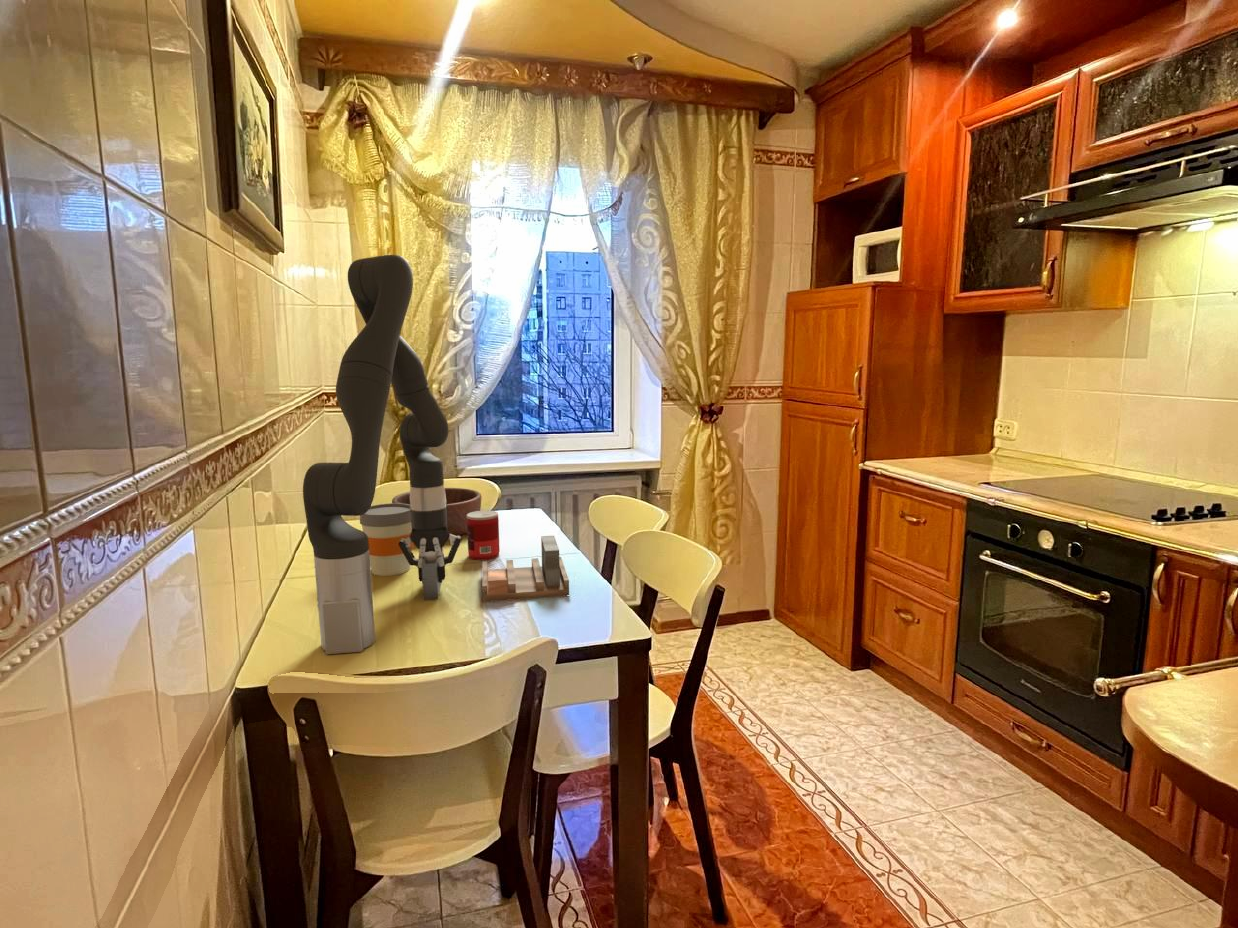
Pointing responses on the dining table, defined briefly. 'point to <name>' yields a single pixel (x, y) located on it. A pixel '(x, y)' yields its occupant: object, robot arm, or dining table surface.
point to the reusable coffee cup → (387, 537)
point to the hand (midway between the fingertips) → (432, 581)
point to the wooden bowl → (453, 507)
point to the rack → (528, 577)
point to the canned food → (483, 535)
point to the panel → (430, 576)
